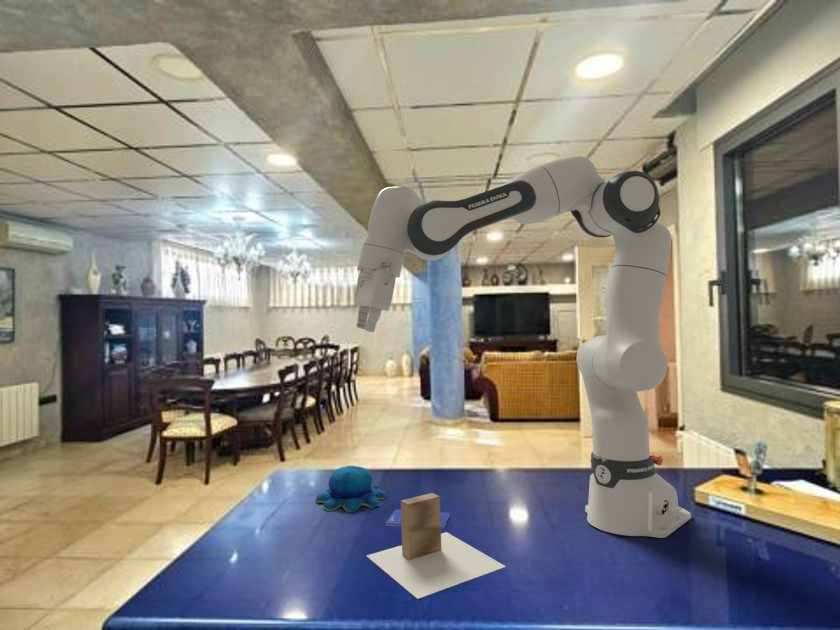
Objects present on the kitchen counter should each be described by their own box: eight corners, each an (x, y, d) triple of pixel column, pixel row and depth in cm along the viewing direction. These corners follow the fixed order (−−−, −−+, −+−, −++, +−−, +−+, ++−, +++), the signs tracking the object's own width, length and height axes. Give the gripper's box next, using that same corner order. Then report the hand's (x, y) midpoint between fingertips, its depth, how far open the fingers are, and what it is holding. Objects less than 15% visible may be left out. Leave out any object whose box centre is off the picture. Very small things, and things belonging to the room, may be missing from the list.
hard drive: (385, 522, 108) (443, 526, 106) (395, 508, 116) (449, 511, 114) (385, 530, 108) (443, 533, 106) (396, 515, 116) (450, 518, 114)
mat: (446, 534, 104) (446, 532, 104) (506, 568, 89) (506, 566, 89) (366, 557, 95) (366, 555, 95) (417, 601, 79) (417, 598, 79)
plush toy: (305, 511, 120) (304, 475, 120) (332, 488, 137) (331, 456, 137) (373, 514, 117) (372, 477, 117) (393, 490, 133) (392, 458, 133)
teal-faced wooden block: (433, 545, 98) (431, 492, 98) (441, 550, 96) (439, 496, 96) (401, 554, 94) (400, 500, 95) (409, 560, 92) (407, 504, 92)
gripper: (408, 265, 96) (390, 337, 96) (384, 270, 116) (369, 330, 115) (376, 256, 95) (358, 329, 94) (357, 263, 114) (342, 323, 114)
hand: (364, 329), depth 105 cm, fingers open, 8 cm apart
